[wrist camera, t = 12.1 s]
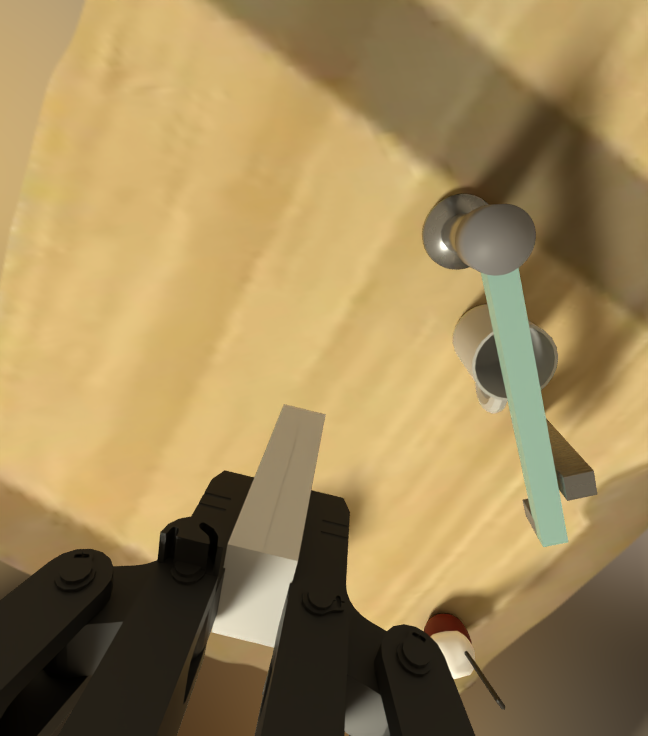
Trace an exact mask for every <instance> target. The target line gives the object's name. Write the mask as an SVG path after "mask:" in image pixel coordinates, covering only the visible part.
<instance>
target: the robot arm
mask: <svg viewBox="0 0 648 736" xmlns="http://www.w3.org/2000/svg"><path fill="white" fill-rule="evenodd" d="M325 415H326V414H322V413H318V412H314V411H310V410H306V409H301V408H297V407H293V406H289V405H285V404H284V405H283V408H282V410H281V413H280V415H279V418H278V420H277V423H276V425H275V428H274V430H273V433H272V435H271V438H270V440H269V443H268V445H267V448H266V450H265V453H264V455H263V457H262V460H261V462H260V465H259V467H258V470H257V472H256V475H255V477H250V476H246V475H242V474H237V473H233V472H229V471H223V472H222V473H220V474H219V475H217V476H216V477H215V478H213V479H212V480H211V482H210V484H209V485H208V487H207V489H206V491H205V493H204V495H203V496H202V498H201V500H200V502H199V505H197V507H196V509H195V511H194V513H193V514H192V516H191V517H186V518H181V519H178V520H176V521H174V522H172V523H170V524H168V525H167V526H166V527H165V528H164V529H163V530H162V531H161V532H160V542H159V552H158V560H157V561H154V562H151V563H148V564H143V565H136V566H113V565H112V562H111V559H110V558H109V557H108V556H106V555H105V554H104V553H103V552H100V551H96V550H93V549H77V550H73V551H70V552H67V553H63V554H61V555H60V556H58V557H56V558H55V559H53V560H51V561H50V562H48V563H47V564H46V565H44V566H43V567H42V568H41V569H39V570H38V571H37V572H36V573H34V574H33V575H32V576H31V577H29V578H28V579H27V580H25V581H24V582H23V583H22V584H20V585H19V586H18V587H17V588H15V589H14V590H13V591H11V592H10V593H9V594H8V595H6V596H5V597H4V598H3V599H1V600H0V736H51V735H52V734H53V732H54V731H55V730H56V729H57V728H58V727H59V725H60V724H61V723H62V721H64V719H65V718H66V717H67V716H68V714H69V713H70V712H71V711H72V712H71V714H70V716H69V717H68V719H67V721H66V723H65V724H64V726H63V728H62V730H61V732H60V733H59V735H58V736H177V733H178V730H179V728H180V725H181V722H182V719H183V716H184V713H185V711H186V708H187V705H188V702H189V699H190V696H191V693H192V691H193V688H194V685H195V682H196V679H197V676H198V673H199V670H200V668H201V665H202V662H203V659H204V655H205V650H206V644H207V640H208V638H209V635H210V632H211V629H212V627H213V629H212V632H213V633H217V634H221V635H225V636H229V637H233V638H237V639H242V640H246V641H250V642H254V643H258V644H262V645H266V646H270V647H274V650H273V655H272V659H271V663H270V667H269V670H268V674H267V678H266V682H265V686H264V689H263V693H262V694H263V698H262V703H261V708H260V713H259V717H258V722H257V727H256V732H255V736H344V732H347V733H348V734H349V736H475V734H474V731H473V729H472V726H471V724H470V721H469V719H468V716H467V713H466V711H465V708H464V706H463V703H462V700H461V698H460V695H459V693H458V690H457V687H456V685H455V682H454V680H453V677H452V674H451V672H450V669H449V667H448V664H447V662H446V659H445V656H444V655H443V653H442V651H441V649H440V648H439V646H438V644H437V643H436V642H435V641H434V640H433V639H432V638H431V637H430V636H429V635H428V634H427V633H425V632H424V631H422V630H420V629H418V628H417V627H414V626H409V625H404V624H403V625H398V626H393V627H392V628H391V629H389V630H388V631H385V630H384V629H382V628H380V627H378V626H377V625H375V624H373V623H372V622H370V621H369V620H367V619H366V618H364V617H363V616H362V615H361V614H360V613H359V612H358V611H357V610H356V609H355V608H354V606H353V605H352V603H351V602H350V600H349V597H348V594H347V590H346V574H347V555H348V535H349V529H348V528H349V516H350V512H349V509H348V507H347V505H346V503H345V501H344V498H341V497H337V496H333V495H328V494H324V493H320V492H316V491H312V490H311V489H312V483H313V478H314V473H315V468H316V462H317V457H318V452H319V446H320V441H321V436H322V430H323V425H324V420H325Z"/></svg>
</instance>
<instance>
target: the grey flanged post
mask: <svg viewBox="0 0 648 736" xmlns="http://www.w3.org/2000/svg"><path fill="white" fill-rule="evenodd" d="M484 205H489V204H488V203H486V202H485V201H484V200H483V199H481V198H479V197H477V196H474V195H470V194H458V195H453V196H450V197H447V198H445V199H443V200H442V201H440V202H439V203H437V204H436V205H435V206H434V207H433V208H432V210H431V211H430V212H429V214H428V215H427V217H426V219H425V222H424V225H423V231H422V240H423V245H424V248H425V250H426V252H427V254H428V255H429V257H430V258H431V259H432V260H433V261H434V262H436V263H437V264H439V265H440V266H443V267H445V268H448V269H465V268H468V267H469V266H468V265H466V264H465V263H464V262H463V261H462V260H461V259H460V257H459V256H458V254H457V251H456V248H455V235H456V231H457V228H458V226H459V224H460V222H461V221H462V219H463V218H464V217H465V216H466V215H467V214H468V213H469V212H471V211H472V210H474V209H476V208H478V207H480V206H484Z"/></svg>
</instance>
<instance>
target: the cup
mask: <svg viewBox="0 0 648 736" xmlns="http://www.w3.org/2000/svg"><path fill="white" fill-rule="evenodd" d="M528 323H529V329H530V334H531V340H532V345H533V351H534V356H535V362H536V367H537V373H538V378H539V384H540V389H541V390H542V389H543V388H544V387H545V386H546V385H547V384H548V383H549V381H550V380H551V379H552V377H553V375H554V373H555V370H556V368H557V362H558V353H557V347H556V345H555V343H554V341H553V339H552V338H551V337H550V336H549V335H548V334H547V333H546V332H545V331H544V330H543V329H541V328H540V327H538V326H536V325H535V324H533V323H532V322H530V321H529V320H528ZM453 345H454V349H455V352H456V354H457V356H458V357H459V359H460V360H461V362H462V363H463V365H464V366H465V368H466V369H467V371H468V372H469V374H470V375H471V376H472V378H473V379H474V381H475V382H476V392H477V397H478V400H479V403H480V405H481V406H482V408H483V409H485V410H486V411H488V412H490V413H497V412H500V411H502V410H503V409H504V408H505V405H506V403H507V401H508V400H507V395H506V390H505V385H504V381H503V376H502V371H501V366H500V361H499V357H498V352H497V347H496V342H495V338H494V333H493V328H492V323H491V319H490V314H489V309H488V304H483V305H480V306H476V307H474V308H473V309H471V310H469V311H467V312H466V313H465V314H464V315H463V316H462V317H461V318H460V320H459V321H458V323H457V325H456V326H455V330H454V333H453Z"/></svg>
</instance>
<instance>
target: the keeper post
mask: <svg viewBox="0 0 648 736" xmlns="http://www.w3.org/2000/svg"><path fill="white" fill-rule="evenodd" d="M546 422H547V428H548V433H549V439H550V444H551V450H552V455H553V461H554V466H555V472H556V477H557V483H558V488H559V490H560V491H561V493H562V494H563V495H564V497H565V498H566V500H567V501H569V500H574V499H578V498H583V497H588V496H593V495H597V489H596V482H595V476H594V471H593V469H592V468H591V467H590V466H589V465H588V464H587V463H586V462H585V461H584V460H583V458H582V457H581V456H580V455H579V454H578V453H577V452H576V451H575V450H574V449H573V447H572V446H571V445H570V444H569V443H568V442H567V441H566V440H565V439H564V438H563V436H562V435H561V434H560V433H559V432H558V431H557V430H556V429H555V428H554V427H553V425H552V424H551V423H550V422H549V421H548V420H547V419H546Z"/></svg>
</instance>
